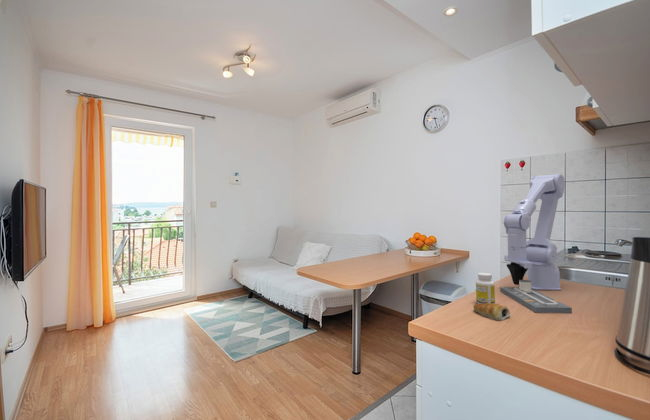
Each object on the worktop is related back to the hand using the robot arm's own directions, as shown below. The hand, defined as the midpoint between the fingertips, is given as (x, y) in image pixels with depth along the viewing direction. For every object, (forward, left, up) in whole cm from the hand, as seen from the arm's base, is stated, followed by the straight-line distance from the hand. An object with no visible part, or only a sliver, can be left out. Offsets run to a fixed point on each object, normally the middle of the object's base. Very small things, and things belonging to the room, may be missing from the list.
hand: (517, 284), depth 109 cm
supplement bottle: (+16, +12, -3) cm, 20 cm away
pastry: (+18, +22, -4) cm, 29 cm away
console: (0, +9, -3) cm, 10 cm away
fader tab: (0, +5, -1) cm, 5 cm away
